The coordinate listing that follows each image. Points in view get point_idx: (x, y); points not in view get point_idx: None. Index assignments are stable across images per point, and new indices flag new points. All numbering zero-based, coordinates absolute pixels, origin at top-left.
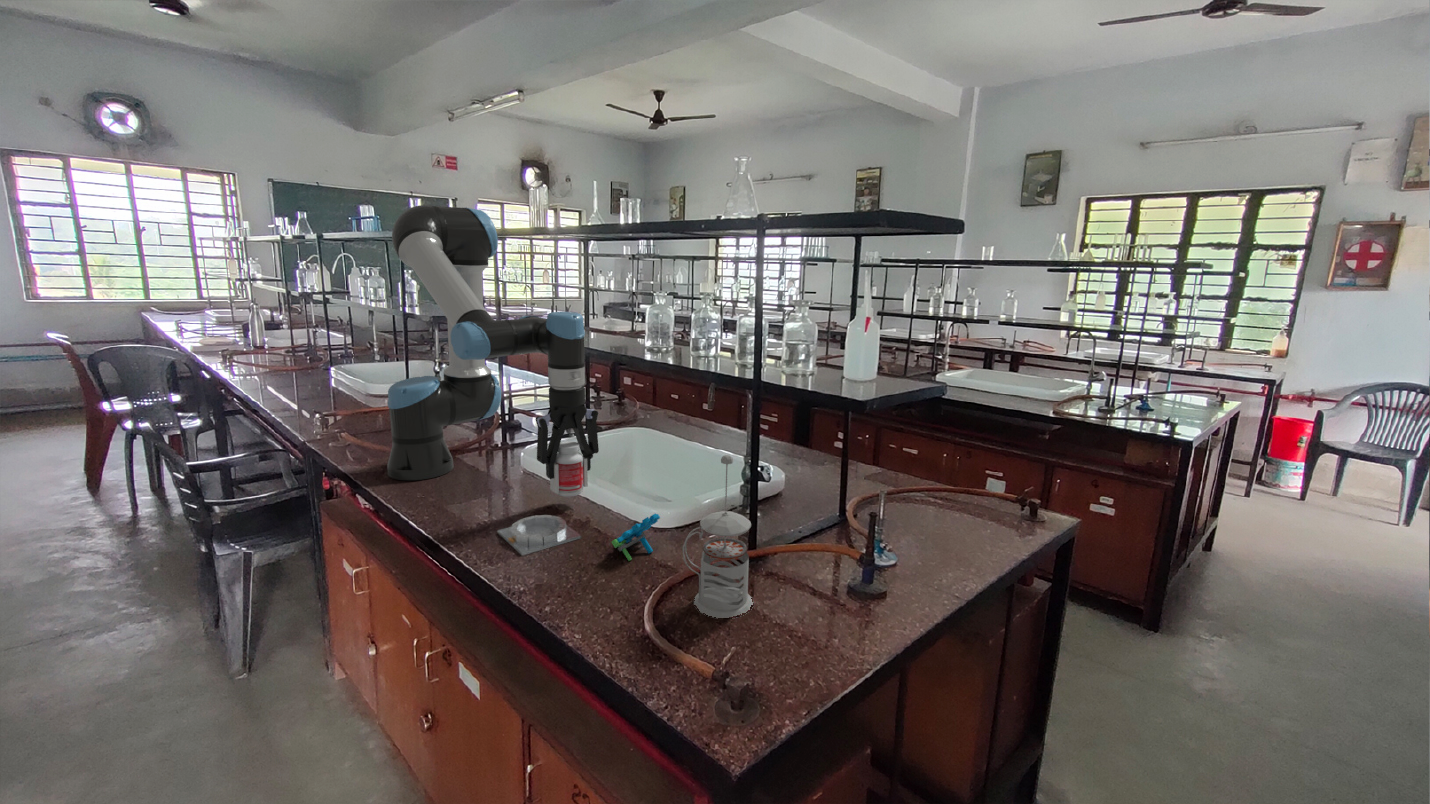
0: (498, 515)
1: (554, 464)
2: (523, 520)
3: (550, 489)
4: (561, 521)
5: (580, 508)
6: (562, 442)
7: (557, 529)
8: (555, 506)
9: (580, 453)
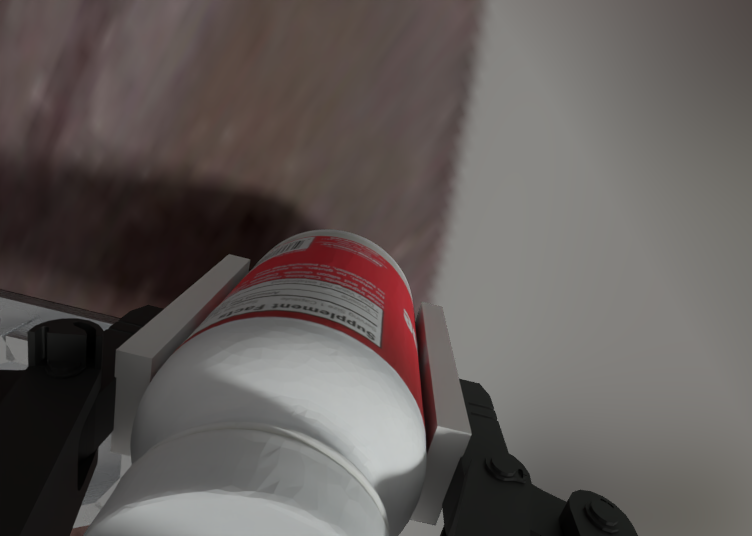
0: (11, 104)
1: (117, 433)
2: (4, 355)
3: (228, 255)
4: None
5: None
6: (220, 507)
7: (79, 512)
8: (282, 238)
9: (398, 531)
